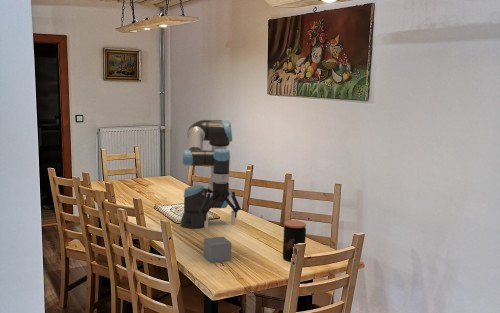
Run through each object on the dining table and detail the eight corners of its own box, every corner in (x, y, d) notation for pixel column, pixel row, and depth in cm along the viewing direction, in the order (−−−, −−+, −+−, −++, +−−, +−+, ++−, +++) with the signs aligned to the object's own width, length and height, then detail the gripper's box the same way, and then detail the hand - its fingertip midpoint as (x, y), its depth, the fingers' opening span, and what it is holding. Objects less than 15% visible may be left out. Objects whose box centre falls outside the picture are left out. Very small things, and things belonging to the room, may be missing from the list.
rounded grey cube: (203, 255, 232) (203, 238, 231) (222, 253, 237) (223, 236, 235) (210, 263, 223) (211, 245, 222) (230, 260, 228) (231, 242, 226)
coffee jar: (278, 258, 233) (279, 222, 231) (292, 253, 241) (293, 219, 238) (294, 264, 226) (296, 227, 223) (308, 259, 233) (310, 223, 231)
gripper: (198, 185, 214) (197, 230, 217) (248, 182, 225) (246, 225, 228) (192, 181, 221) (192, 226, 224) (241, 179, 231) (240, 221, 234)
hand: (219, 226), depth 226 cm, fingers open, 13 cm apart
